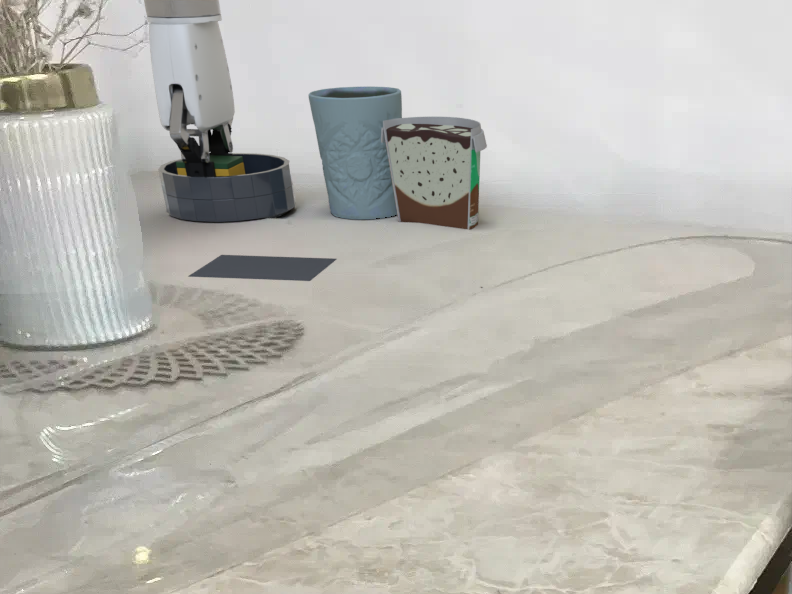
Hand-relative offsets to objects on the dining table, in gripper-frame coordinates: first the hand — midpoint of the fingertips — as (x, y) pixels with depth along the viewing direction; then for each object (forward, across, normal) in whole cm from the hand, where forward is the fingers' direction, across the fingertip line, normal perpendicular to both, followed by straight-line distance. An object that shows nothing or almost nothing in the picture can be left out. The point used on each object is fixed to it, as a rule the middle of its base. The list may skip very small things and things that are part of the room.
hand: (215, 194), depth 129 cm
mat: (+2, +24, +15) cm, 28 cm away
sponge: (0, 0, 0) cm, 0 cm away
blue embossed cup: (+2, -3, +17) cm, 17 cm away
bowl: (+2, 0, +2) cm, 3 cm away
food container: (+2, +2, +28) cm, 28 cm away
